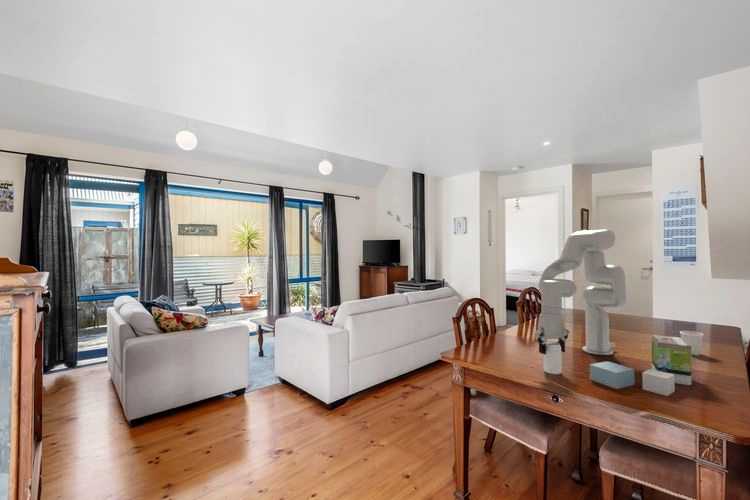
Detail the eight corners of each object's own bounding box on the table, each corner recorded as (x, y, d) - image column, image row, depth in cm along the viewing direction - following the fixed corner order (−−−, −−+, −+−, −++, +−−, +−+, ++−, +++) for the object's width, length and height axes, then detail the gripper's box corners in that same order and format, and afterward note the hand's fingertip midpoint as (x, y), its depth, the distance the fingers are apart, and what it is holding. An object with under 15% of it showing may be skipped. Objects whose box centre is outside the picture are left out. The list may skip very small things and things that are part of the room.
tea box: (693, 386, 124) (692, 345, 125) (657, 381, 130) (656, 341, 130) (683, 373, 137) (682, 336, 137) (651, 369, 142) (650, 333, 143)
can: (563, 375, 137) (563, 345, 137) (546, 374, 138) (545, 344, 138) (558, 369, 143) (558, 341, 143) (541, 368, 144) (541, 340, 145)
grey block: (650, 385, 126) (650, 368, 126) (674, 391, 120) (674, 374, 120) (642, 389, 122) (642, 372, 122) (667, 396, 116) (667, 378, 116)
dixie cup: (694, 351, 167) (693, 330, 167) (709, 356, 158) (708, 335, 158) (675, 351, 168) (675, 330, 168) (689, 356, 159) (689, 334, 159)
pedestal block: (607, 376, 136) (607, 361, 136) (634, 385, 126) (634, 369, 126) (589, 380, 132) (589, 364, 132) (616, 389, 123) (616, 372, 123)
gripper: (560, 308, 147) (560, 348, 147) (527, 310, 142) (528, 351, 141) (575, 310, 140) (576, 352, 140) (541, 313, 135) (542, 356, 134)
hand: (552, 352), depth 141 cm, fingers open, 9 cm apart
